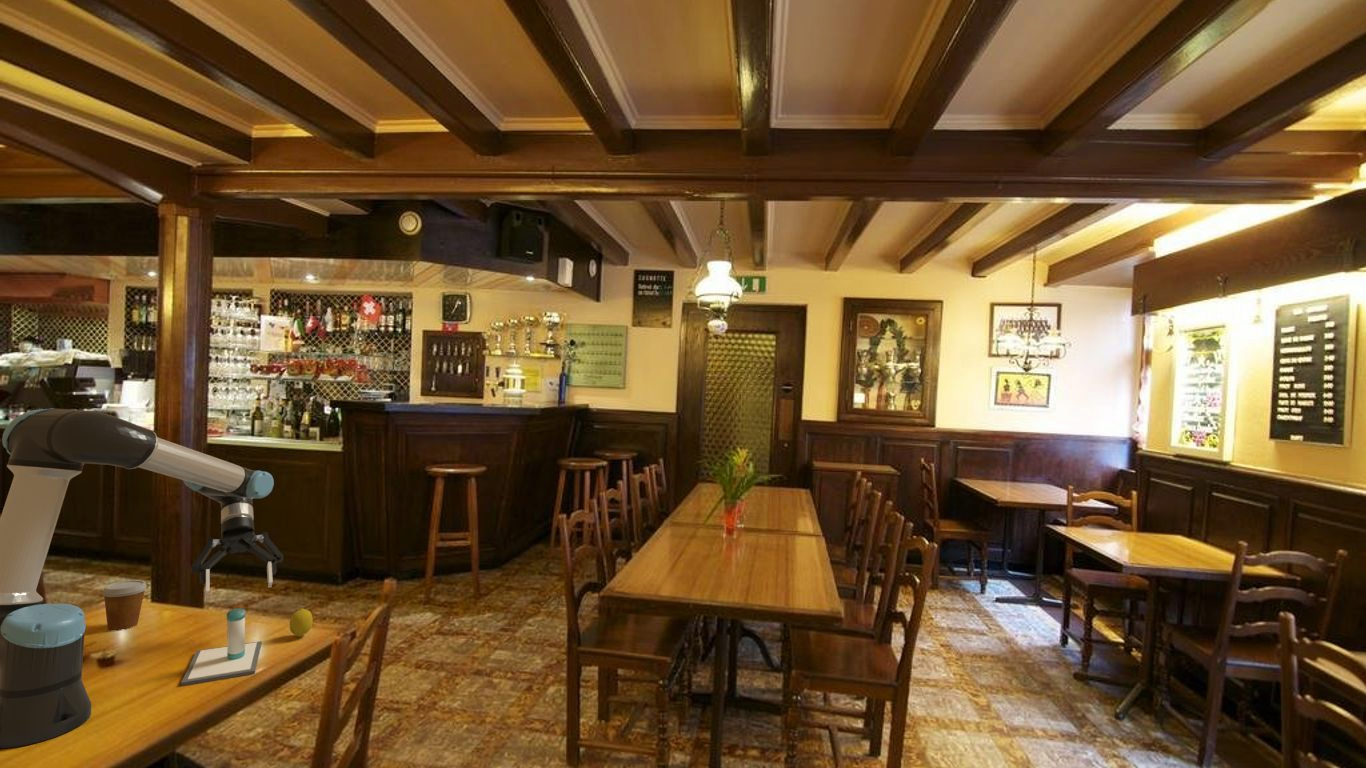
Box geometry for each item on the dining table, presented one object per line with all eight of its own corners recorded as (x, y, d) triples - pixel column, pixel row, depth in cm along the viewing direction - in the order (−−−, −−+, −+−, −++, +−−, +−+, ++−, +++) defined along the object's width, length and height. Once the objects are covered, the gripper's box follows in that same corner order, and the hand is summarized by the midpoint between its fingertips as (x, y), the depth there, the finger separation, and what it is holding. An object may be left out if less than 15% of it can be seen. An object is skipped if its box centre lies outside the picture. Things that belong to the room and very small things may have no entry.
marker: (232, 661, 152) (232, 618, 149) (223, 656, 153) (223, 613, 151) (248, 654, 155) (248, 612, 153) (240, 648, 157) (240, 606, 154)
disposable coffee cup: (150, 625, 175) (152, 583, 175) (105, 635, 167) (108, 592, 167) (138, 618, 180) (140, 577, 180) (94, 627, 172) (97, 585, 172)
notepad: (181, 686, 140) (181, 681, 140) (196, 653, 157) (196, 649, 157) (254, 673, 147) (254, 669, 147) (261, 644, 165) (261, 640, 165)
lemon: (314, 637, 170) (316, 608, 170) (292, 642, 166) (293, 613, 166) (308, 631, 174) (310, 603, 174) (286, 636, 170) (287, 608, 170)
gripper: (287, 525, 183) (292, 588, 171) (180, 535, 166) (178, 605, 155) (290, 511, 179) (296, 574, 167) (181, 519, 162) (179, 590, 151)
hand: (239, 589), depth 161 cm, fingers open, 13 cm apart
